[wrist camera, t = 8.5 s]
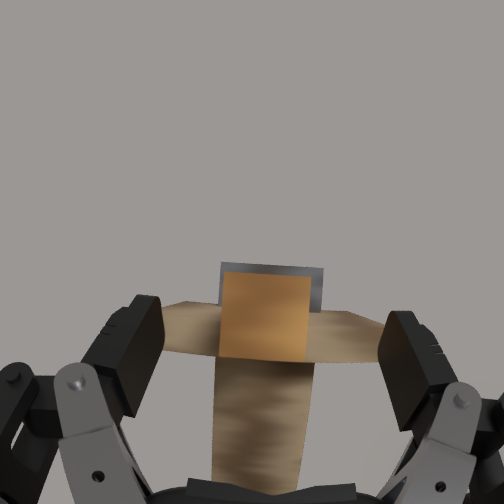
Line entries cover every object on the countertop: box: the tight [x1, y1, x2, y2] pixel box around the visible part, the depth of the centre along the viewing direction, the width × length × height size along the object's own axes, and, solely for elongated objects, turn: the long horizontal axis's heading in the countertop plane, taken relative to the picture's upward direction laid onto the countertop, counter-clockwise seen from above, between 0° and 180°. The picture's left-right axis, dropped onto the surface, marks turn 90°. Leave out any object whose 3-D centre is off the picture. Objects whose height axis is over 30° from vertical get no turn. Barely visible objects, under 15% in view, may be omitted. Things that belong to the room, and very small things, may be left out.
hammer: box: [218, 262, 323, 362], centre depth 18 cm, size 8×19×4 cm, turn 176°
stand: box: [162, 301, 385, 495], centre depth 20 cm, size 14×10×31 cm
